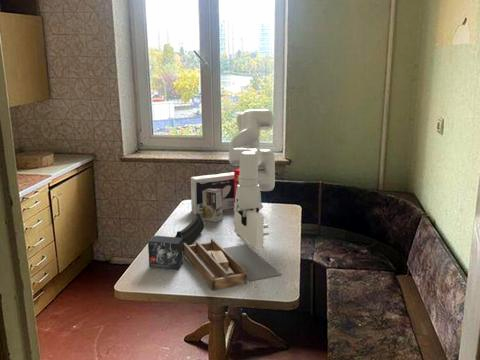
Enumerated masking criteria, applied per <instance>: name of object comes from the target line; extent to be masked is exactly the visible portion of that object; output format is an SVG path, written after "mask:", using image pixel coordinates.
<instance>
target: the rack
mask: <svg viewBox="0 0 480 360" xmlns="http://www.w3.org/2000/svg"><path fill="white" fill-rule="evenodd" d="M224 248H225V247H223V246H222V245H221V244H219V242H217V241H216V240H215V239H214V238H210V241H207V242H202V243H200V242H199V241H197V240H196V241H195V244H192V245H187V244H186V243H183V257H185V258H187V259H186V260H187V261H188V262H189V264H190V265H191V266H192V267H193V268H194V269H195V271H196V272H197V273H198V275H199V276H200V277H201V278H202V280H204V282H205V283H206V284H207V286H208V287H209V288H210V290H212V291H216V290H222V289H226V288H232V287H236V286H241V285H246V284H247V282H248V281H247V280H248V279H247V270H246V269H245V268H244V267H243V266H241V265H240V264H239V263H238V262H237V261H236V260H235V259H234V258H233V257H232V256H231V255H230V254H229V253H228V252H227V251H226V250H225V249H224ZM212 250H216V251H222V252H223V254H224V255H225V257H226V259H227V260H228V266H229V267H230V269H231V270H232V271H233V272H234V275H231V276H228V272H227V271H226V270H225V269H224V268H223V267H222V266H221V265H220V264H219V263H218V262H217V261H216V260H215V259H214V258H213V257H212V256H211V255H210V254H209V253H208V252H207V251H212ZM201 259H202V260H203V261H202V260H201Z"/></svg>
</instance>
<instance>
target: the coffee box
mask: <svg viewBox="0 0 480 360" xmlns="http://www.w3.org/2000/svg"><path fill="white" fill-rule="evenodd" d="M222 191H223V190H217V189H211V188H208V189H206V190H204V191H202V192H203V213H202V219H203V220H205V221H210V222H215V223H218V222H219V221H221V220H223V219H224V215H223V213H224V212H223V211H224V210H223V195H222Z"/></svg>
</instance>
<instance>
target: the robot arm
mask: <svg viewBox="0 0 480 360" xmlns="http://www.w3.org/2000/svg"><path fill="white" fill-rule="evenodd" d="M274 121H275V119H274V114H273V111H272V110H270V109H265V108H263V109H259V108H258V109H256V108H255V109H253V108H252V109H247V110H244V111H243V112H239V113H238V114H237V116H236V124H237V129H238V131H239V132H238V133H237V134H236V135H235V136H234V137H233V138H232V139H231V141H230V143H229V151H228V160H229V161H228V162H229V163H230V165H231V166H237V167H239V169H240V175H239V177H238V182H239V185H237V190H236V197H235V207H234V208H233V212H234V211H235V212H237V213H239V214H240V215H241V223H242V224H243V225H244V226H246V221H247V217H246V210H247V209H252V210H253V211H255V212H256V213H258V214H259V215H260V210H262V209H263V208H264V206H263V204H262V203H263V202H262V196H261V195H262V194H261V192H270V191H273V190H274V188H275V185H276V184H275V182H276V174H275V173H276V168H275V167H276V164H275V163H276V162H275V159H276V158H275V154H274V151H273V150H271V149H268V148H267V149H266V148H265V149H263V148H262V149H261V148H260V135H261V134H260V133H261V131H262V130H263V131H269V130H271V129H272V128H273V126H274ZM259 169H262V170H261V171H260V170H259ZM238 208H239V209H240V210H238ZM268 228H269V224H267V223H266V224H264V229H268ZM238 236H240V235H238ZM240 237H241V236H240Z"/></svg>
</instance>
